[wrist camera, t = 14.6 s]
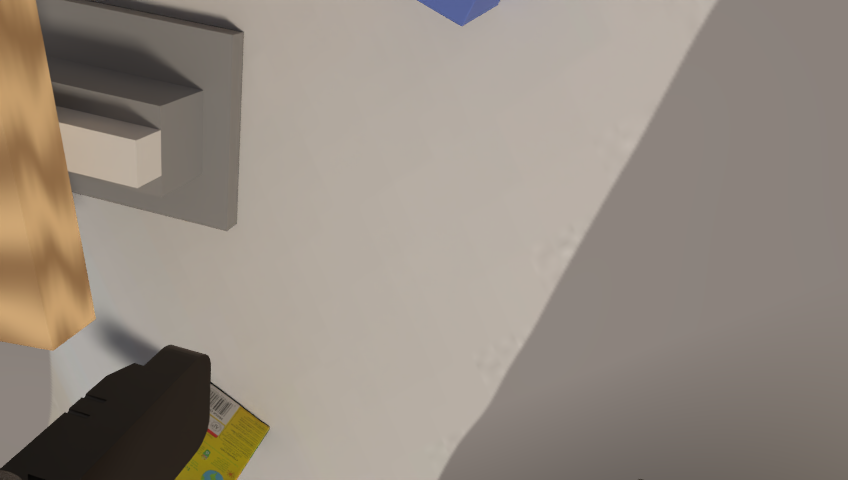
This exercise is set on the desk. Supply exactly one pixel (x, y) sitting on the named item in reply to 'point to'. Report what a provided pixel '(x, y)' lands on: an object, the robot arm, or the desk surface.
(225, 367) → the desk surface
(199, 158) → the balance stand
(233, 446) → the crayon box
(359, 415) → the desk surface
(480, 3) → the walkman
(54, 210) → the oak bar
